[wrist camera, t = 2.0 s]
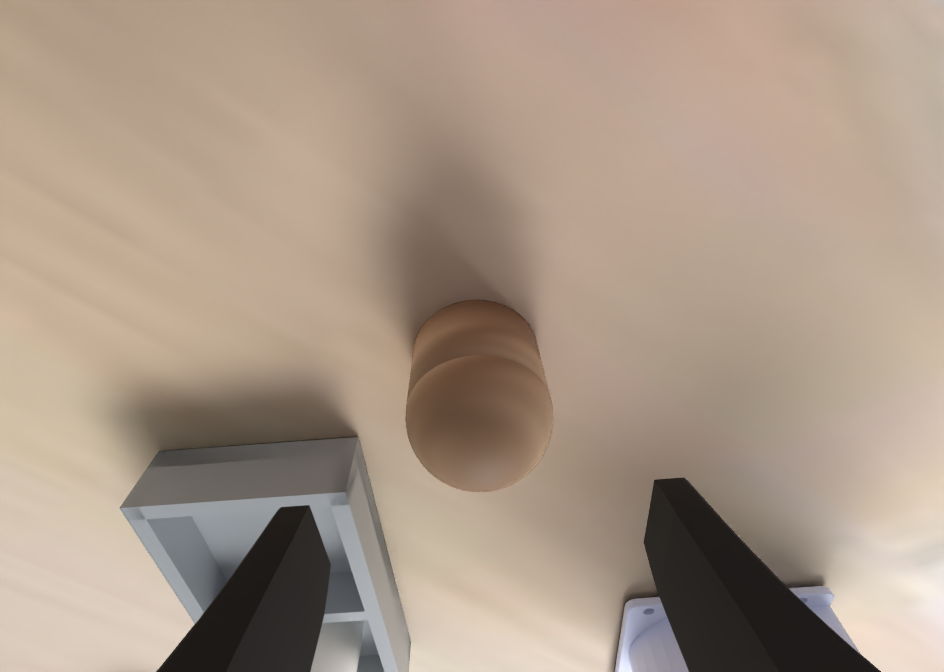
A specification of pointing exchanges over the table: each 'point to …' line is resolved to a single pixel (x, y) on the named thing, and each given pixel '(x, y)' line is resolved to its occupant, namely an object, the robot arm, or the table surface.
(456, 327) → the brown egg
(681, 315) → the table surface
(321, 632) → the cream egg
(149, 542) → the holder
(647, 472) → the table surface
